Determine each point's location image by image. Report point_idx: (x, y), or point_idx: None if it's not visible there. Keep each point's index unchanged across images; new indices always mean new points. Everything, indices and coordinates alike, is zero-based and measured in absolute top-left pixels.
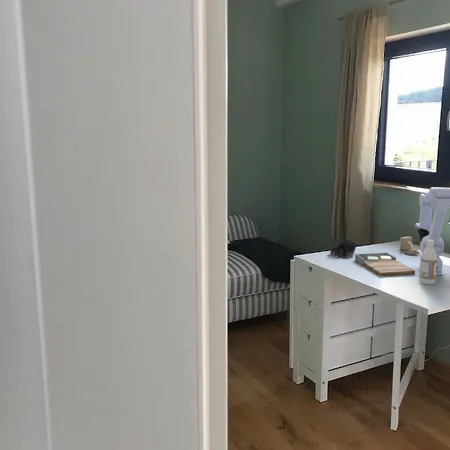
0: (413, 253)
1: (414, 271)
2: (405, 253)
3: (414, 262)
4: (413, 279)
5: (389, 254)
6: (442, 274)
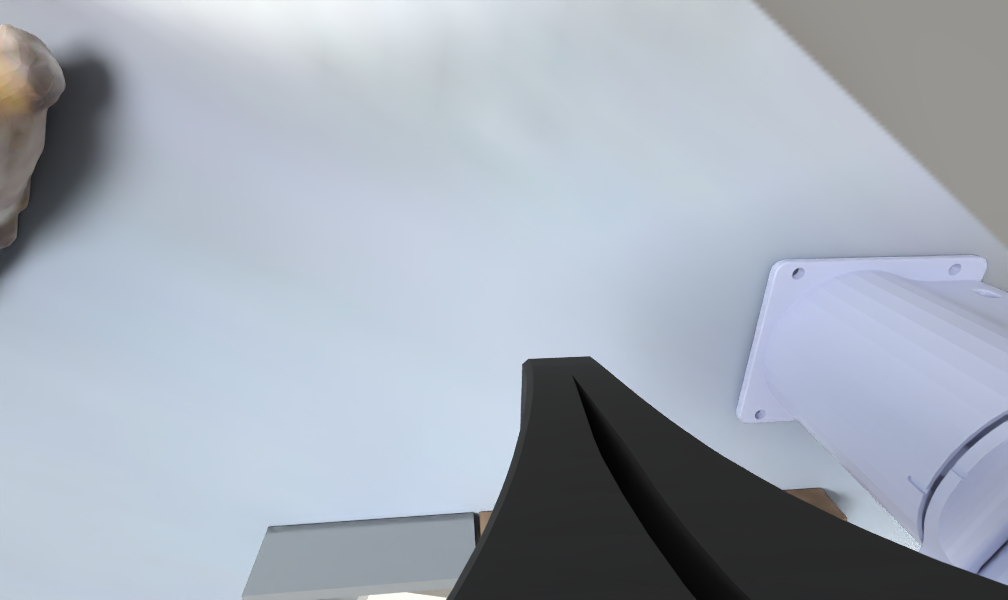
0: (41, 146)
1: (838, 514)
2: (2, 242)
3: (457, 314)
4: (906, 539)
5: (339, 595)
6: (980, 269)
